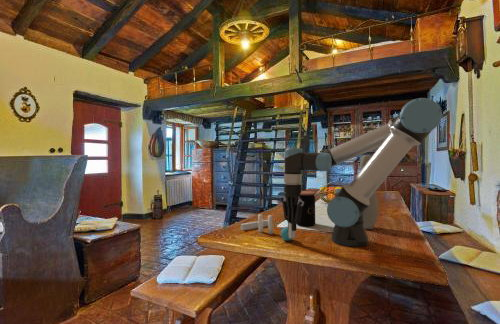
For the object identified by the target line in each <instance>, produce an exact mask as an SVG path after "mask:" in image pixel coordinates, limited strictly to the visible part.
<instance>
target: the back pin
mask: <svg viewBox="0 0 500 324" xmlns="http://www.w3.org/2000/svg"><path fill="white" fill-rule="evenodd" d="M257 219H258V220H257V221H258V228H257V229H258V230H257V231H258V233H263V232H264V227H263V220H264V214H260V213H259V214H258V215H257Z"/></svg>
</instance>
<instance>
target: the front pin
mask: <svg viewBox="0 0 500 324" xmlns="http://www.w3.org/2000/svg"><path fill="white" fill-rule="evenodd" d="M267 220H268V226H267V234H269V235H273V234H274V222H273V221H274V216H273V215H267Z"/></svg>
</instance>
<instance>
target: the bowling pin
mask: <svg viewBox="0 0 500 324" xmlns="http://www.w3.org/2000/svg"><path fill="white" fill-rule="evenodd" d="M370 158H371V156H370V155H367V154H365V155H362V157H360V160H359V162H360V163H359V165H360V170H361V169H362V168H363V167H364V166H365V164H366V163H367V162H368V161H369V159H370ZM369 202H370V205H369V206H368V207H367V208H366V210H365V211H364V227H365V230H373V229H374V228H375V227H376V224H377V221H378V220H377V219H378V215H379V209H380V208H379V199H378V195H377V190H376V191H375V192H374V193H373V194H372V196H371V197H370V198H369Z"/></svg>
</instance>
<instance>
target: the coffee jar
mask: <svg viewBox="0 0 500 324" xmlns="http://www.w3.org/2000/svg"><path fill="white" fill-rule="evenodd" d="M315 195H316V192H315V191H311V190H309V191H308V190H302V191H301V193H300V197H301V200H302V201H304V202H305V204H304V206H303V210H302V215H301V220H300V222H298V223H297V224H296V226H299V227H305V228H307V227H310V226H311V227H314V226H315V225H316V197H315Z"/></svg>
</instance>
